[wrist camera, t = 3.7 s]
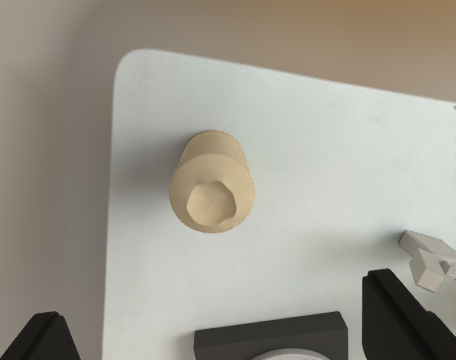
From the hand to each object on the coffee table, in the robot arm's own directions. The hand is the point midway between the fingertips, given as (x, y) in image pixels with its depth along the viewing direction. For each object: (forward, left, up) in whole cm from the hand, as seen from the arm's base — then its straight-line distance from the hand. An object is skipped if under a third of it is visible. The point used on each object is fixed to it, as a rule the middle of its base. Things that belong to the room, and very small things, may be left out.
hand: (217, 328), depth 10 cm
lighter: (+18, -11, -20) cm, 29 cm away
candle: (0, 0, -20) cm, 20 cm away
